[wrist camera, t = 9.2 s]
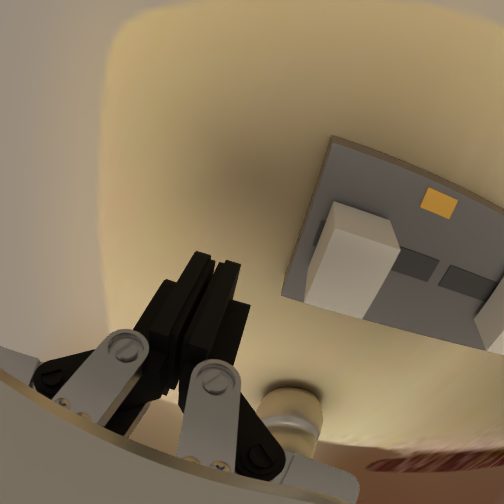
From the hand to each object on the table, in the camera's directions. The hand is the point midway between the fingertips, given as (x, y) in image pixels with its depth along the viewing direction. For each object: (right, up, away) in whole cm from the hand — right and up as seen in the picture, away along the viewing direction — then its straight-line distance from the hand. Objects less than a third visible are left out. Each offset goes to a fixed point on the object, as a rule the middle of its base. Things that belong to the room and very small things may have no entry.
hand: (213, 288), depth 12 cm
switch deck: (+17, 0, +7) cm, 18 cm away
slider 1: (+7, +2, +5) cm, 9 cm away
